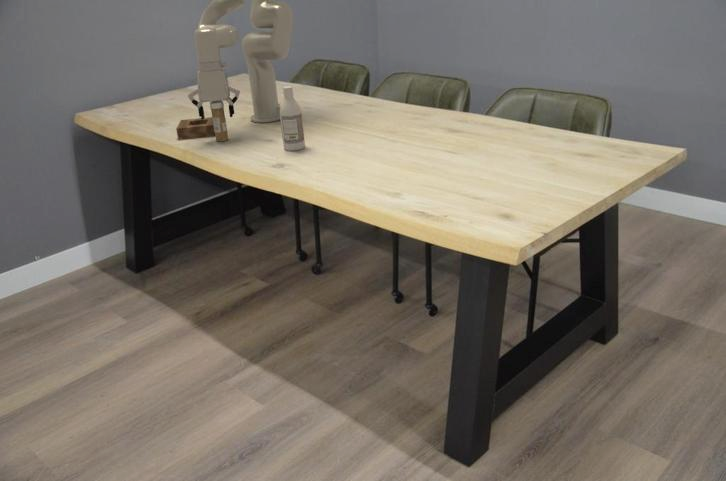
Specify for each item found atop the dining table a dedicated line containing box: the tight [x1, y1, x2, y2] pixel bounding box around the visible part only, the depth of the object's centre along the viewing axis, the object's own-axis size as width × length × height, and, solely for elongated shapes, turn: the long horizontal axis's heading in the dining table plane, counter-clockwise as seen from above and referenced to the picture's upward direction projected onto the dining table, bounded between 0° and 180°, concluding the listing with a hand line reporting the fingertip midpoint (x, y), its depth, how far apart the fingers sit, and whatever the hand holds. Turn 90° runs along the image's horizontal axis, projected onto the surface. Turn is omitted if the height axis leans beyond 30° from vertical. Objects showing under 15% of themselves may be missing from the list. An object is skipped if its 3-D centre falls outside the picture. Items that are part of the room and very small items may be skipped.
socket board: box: [175, 116, 216, 141], centre depth 260 cm, size 14×12×4 cm
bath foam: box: [279, 85, 306, 152], centre depth 231 cm, size 7×7×20 cm
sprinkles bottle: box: [209, 101, 230, 143], centre depth 248 cm, size 5×5×14 cm
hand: (217, 117), depth 246 cm, fingers open, 9 cm apart
